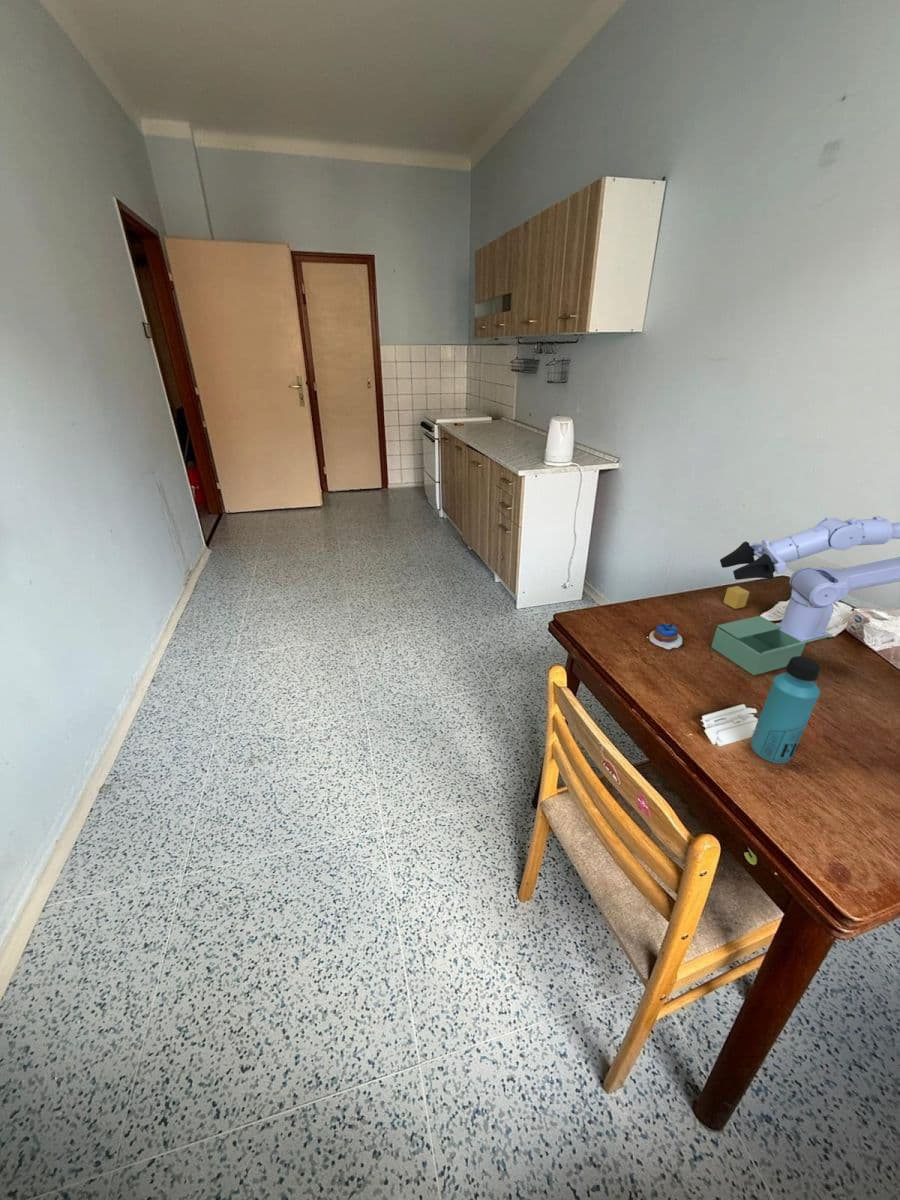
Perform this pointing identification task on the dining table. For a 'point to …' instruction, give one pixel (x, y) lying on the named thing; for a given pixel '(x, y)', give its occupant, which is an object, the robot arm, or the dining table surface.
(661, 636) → the dessert
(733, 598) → the yellow block
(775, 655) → the green storage box
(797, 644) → the flap
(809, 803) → the dining table surface
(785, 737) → the beverage bottle
